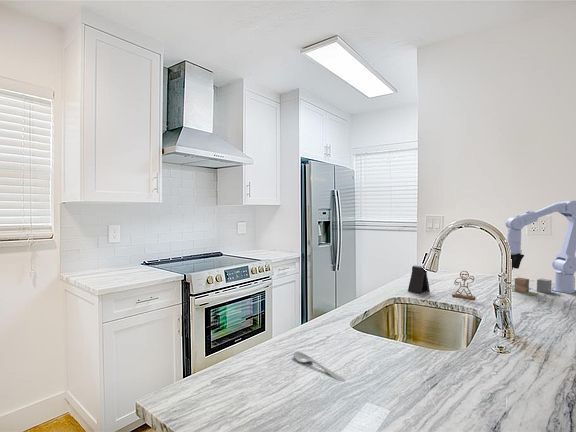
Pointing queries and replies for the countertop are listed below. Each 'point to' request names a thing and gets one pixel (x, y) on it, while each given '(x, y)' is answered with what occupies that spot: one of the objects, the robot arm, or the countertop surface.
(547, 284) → the grey block
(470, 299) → the grey figurine
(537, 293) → the rubber mat
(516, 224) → the robot arm
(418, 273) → the phone stand
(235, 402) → the countertop surface
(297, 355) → the spoon
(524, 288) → the walnut block
